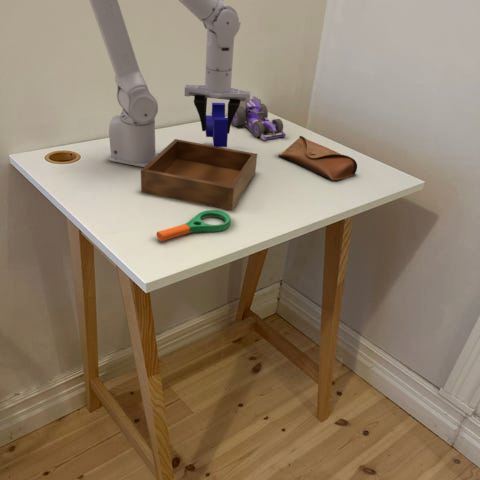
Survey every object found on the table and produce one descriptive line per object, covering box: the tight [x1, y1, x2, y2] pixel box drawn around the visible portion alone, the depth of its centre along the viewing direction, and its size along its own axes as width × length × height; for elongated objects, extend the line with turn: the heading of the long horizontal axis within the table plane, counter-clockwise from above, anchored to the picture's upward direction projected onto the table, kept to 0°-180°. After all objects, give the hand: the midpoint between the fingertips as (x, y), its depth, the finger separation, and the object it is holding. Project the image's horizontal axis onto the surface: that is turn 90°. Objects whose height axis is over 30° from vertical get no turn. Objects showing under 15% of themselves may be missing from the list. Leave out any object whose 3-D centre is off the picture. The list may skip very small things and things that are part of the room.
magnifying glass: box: [155, 209, 231, 242], centre depth 93 cm, size 15×6×2 cm, turn 131°
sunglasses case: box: [278, 135, 358, 181], centre depth 121 cm, size 18×7×7 cm, turn 44°
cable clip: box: [205, 102, 229, 148], centre depth 119 cm, size 12×4×6 cm, turn 5°
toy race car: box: [231, 95, 286, 142], centre depth 135 cm, size 10×15×6 cm, turn 33°
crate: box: [140, 138, 258, 211], centre depth 108 cm, size 19×19×5 cm
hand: (215, 131), depth 120 cm, fingers closed on cable clip, 5 cm apart
